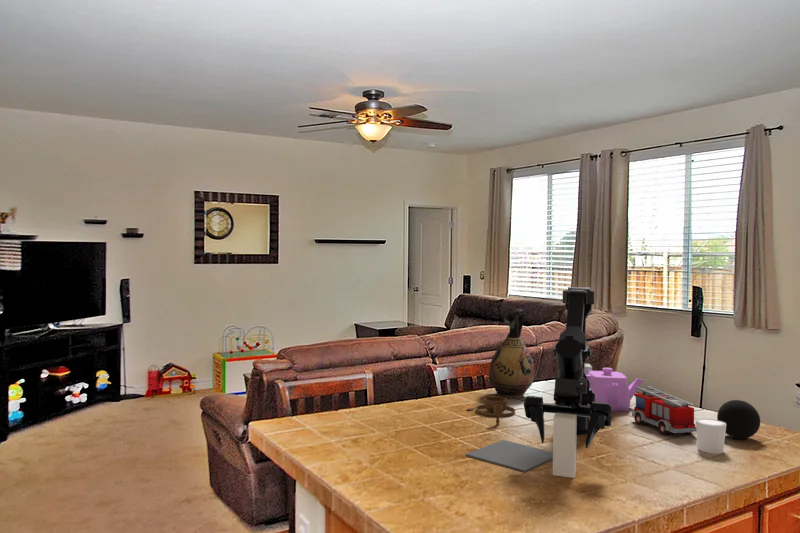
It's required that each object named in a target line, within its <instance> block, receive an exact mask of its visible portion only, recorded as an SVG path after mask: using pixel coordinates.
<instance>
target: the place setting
mask: <svg viewBox="0 0 800 533" xmlns="http://www.w3.org/2000/svg"><path fill="white" fill-rule="evenodd" d="M483 399H484V400H483V401H484V402H483V403H484V404H480V405H477V406H476V407H472V408H471V407H470V408H467V409H466V411H470V412H471V411H474V410H475V411H476V412H477V414H479V415H481V416H485V417H493V418H496V419H495V423H496V424H495V425H496V426H498V427H499V426H500V418H507V417H512V416H514V415H515V414H516V408H514V407H511V406H509V405H508V398H504V397H499V396H497V395H495V396H494V395H493V396H491V395H490V396H486V397H485V396H484V398H483ZM483 410H486V411H483ZM487 411H488V412H487ZM505 411H509V412H506V413H505ZM511 421H514V420H512V419H511Z"/></svg>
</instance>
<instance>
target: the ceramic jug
mask: <svg viewBox="0 0 800 533" xmlns="http://www.w3.org/2000/svg"><path fill="white" fill-rule="evenodd" d="M524 311H525V310H523V309H522V308H515V309H514V310H513V312H512V314H510V313H506V314H505V315H504V316H503V322H504V324H506V325H507V326H508V327H509V332H508V334H507V335H506V338H505V339H504V340H503V341H502V342H501V343H500V345H499V346H498V348H497V350H496V351H495V352H494V354H493V356H492V359H491V361H490V364H489V370H488V377H489V382H490V383H491V385H492V387H493V388H494V390H495V392H496V394H495V396H498V397H504V398H506V399H521V398H523V397H524V395H525V393H526V392H527V391H528V389H530V388H531V386H532V384H533V382H534V381H535V365H534V361H533V358H532V356H531V354H530V352H529V351H528V348H527V346H526V345H525V343H524V342H523V340H522V338H521V335H522V329H523V325H524V318H525V312H524Z"/></svg>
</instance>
